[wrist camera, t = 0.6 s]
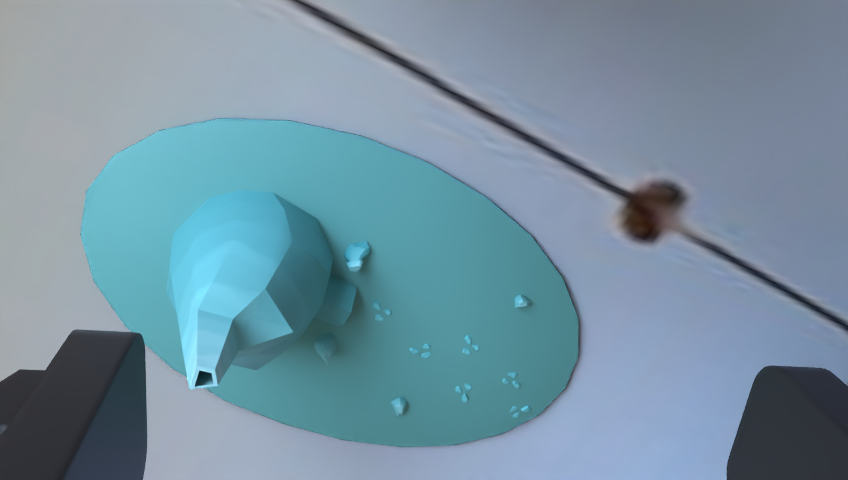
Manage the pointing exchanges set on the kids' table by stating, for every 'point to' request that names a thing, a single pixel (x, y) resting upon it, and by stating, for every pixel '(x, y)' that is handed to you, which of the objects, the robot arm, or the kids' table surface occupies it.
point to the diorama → (329, 282)
